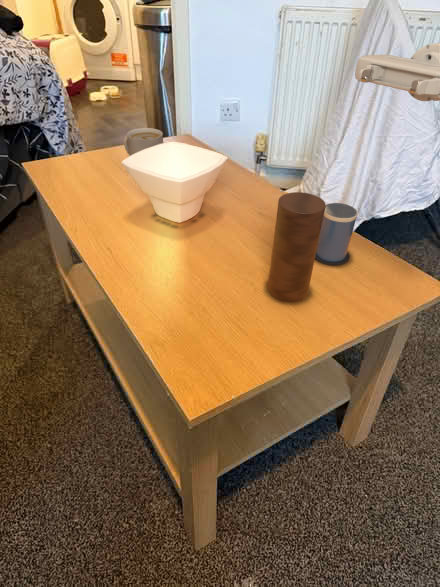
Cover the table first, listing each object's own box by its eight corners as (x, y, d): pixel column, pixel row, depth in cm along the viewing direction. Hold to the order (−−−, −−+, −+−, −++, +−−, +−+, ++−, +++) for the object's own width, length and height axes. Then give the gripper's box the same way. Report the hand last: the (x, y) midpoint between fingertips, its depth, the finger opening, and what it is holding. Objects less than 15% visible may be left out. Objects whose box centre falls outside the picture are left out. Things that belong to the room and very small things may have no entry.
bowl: (172, 191, 109) (169, 138, 101) (232, 212, 101) (235, 156, 92) (121, 218, 97) (113, 160, 88) (185, 245, 89) (182, 184, 80)
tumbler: (346, 247, 89) (357, 205, 83) (346, 264, 84) (358, 220, 78) (315, 242, 90) (323, 200, 84) (313, 259, 85) (322, 216, 79)
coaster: (348, 247, 90) (348, 245, 89) (349, 267, 84) (350, 266, 83) (311, 242, 91) (311, 241, 91) (310, 262, 85) (310, 261, 84)
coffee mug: (171, 169, 121) (169, 134, 115) (143, 177, 116) (139, 142, 109) (146, 156, 129) (143, 122, 122) (118, 163, 123) (113, 129, 117)
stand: (308, 280, 80) (325, 194, 69) (307, 304, 74) (325, 215, 63) (269, 275, 81) (280, 189, 70) (265, 298, 75) (276, 210, 64)
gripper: (386, 43, 75) (338, 49, 69) (501, 61, 63) (457, 70, 56) (377, 80, 79) (331, 90, 72) (484, 104, 67) (441, 118, 60)
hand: (387, 81), depth 64 cm, fingers open, 8 cm apart
